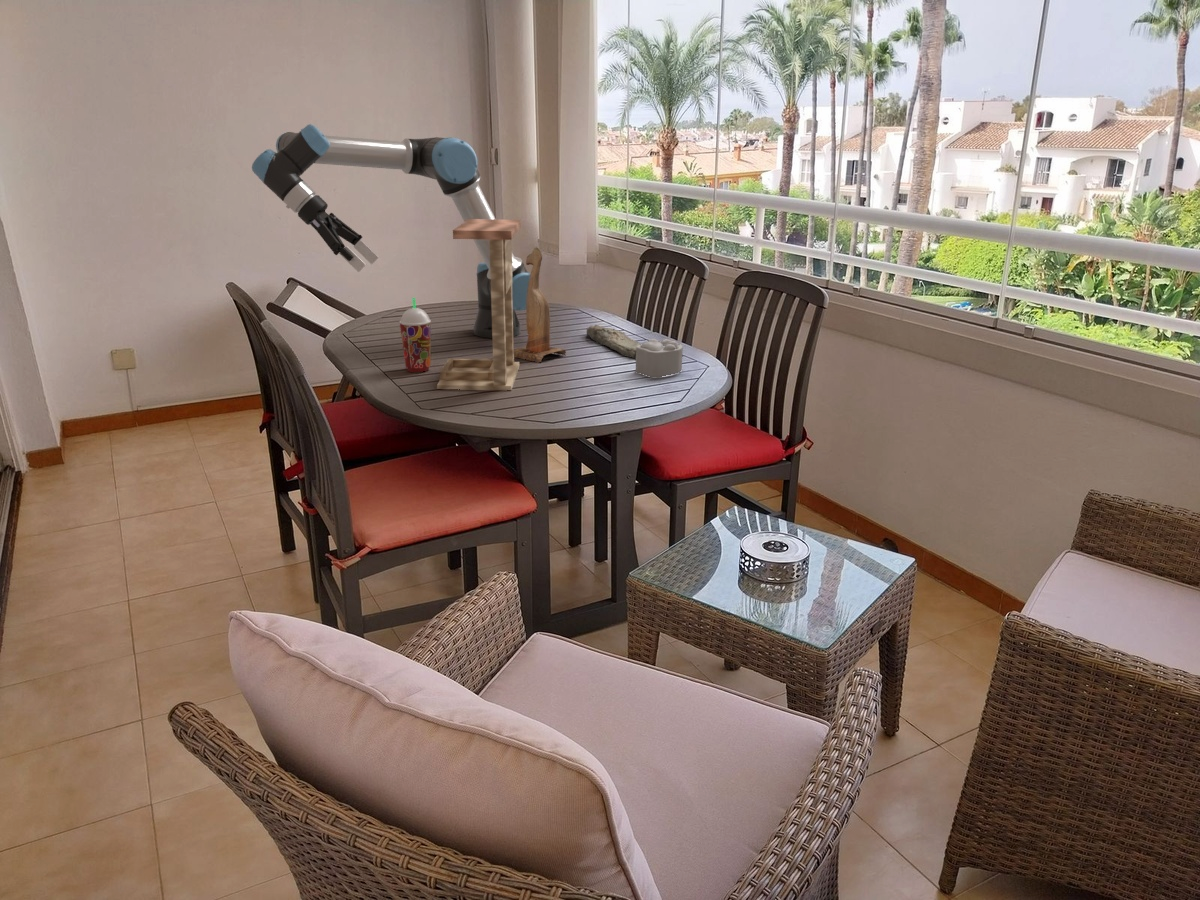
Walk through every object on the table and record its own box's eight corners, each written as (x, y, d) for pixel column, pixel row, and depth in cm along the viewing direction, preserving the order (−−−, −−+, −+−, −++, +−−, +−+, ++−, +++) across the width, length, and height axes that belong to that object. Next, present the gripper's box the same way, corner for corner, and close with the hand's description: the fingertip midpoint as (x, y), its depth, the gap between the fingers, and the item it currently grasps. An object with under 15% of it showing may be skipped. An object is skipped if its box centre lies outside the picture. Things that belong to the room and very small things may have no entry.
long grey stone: (627, 366, 252) (656, 364, 257) (629, 348, 250) (658, 347, 255) (577, 334, 281) (605, 333, 285) (579, 318, 279) (606, 317, 283)
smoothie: (426, 375, 235) (422, 301, 227) (397, 373, 236) (392, 299, 229) (438, 367, 242) (434, 295, 235) (410, 365, 244) (405, 294, 237)
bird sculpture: (536, 351, 262) (531, 243, 251) (567, 356, 256) (563, 245, 245) (512, 358, 254) (506, 247, 243) (543, 364, 247) (538, 250, 236)
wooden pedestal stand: (436, 390, 221) (427, 229, 207) (452, 364, 245) (445, 218, 231) (514, 391, 221) (511, 231, 207) (523, 365, 246) (520, 219, 231)
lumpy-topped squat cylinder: (630, 371, 242) (631, 340, 239) (666, 364, 249) (668, 334, 246) (654, 379, 234) (655, 348, 231) (690, 372, 241) (692, 342, 238)
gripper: (312, 210, 236) (371, 267, 241) (280, 219, 213) (346, 282, 218) (330, 190, 234) (389, 248, 239) (300, 197, 211) (366, 261, 216)
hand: (369, 264), depth 229 cm, fingers open, 13 cm apart
